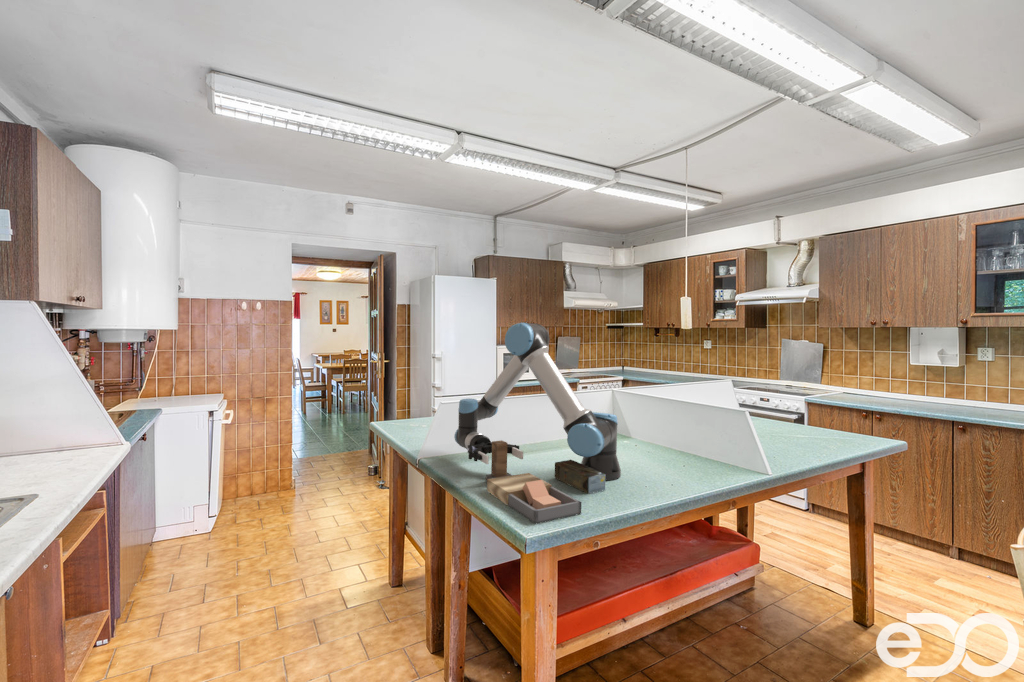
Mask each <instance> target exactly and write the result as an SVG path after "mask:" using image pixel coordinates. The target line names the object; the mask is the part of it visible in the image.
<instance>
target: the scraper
mask: <svg viewBox="0 0 1024 682" xmlns="http://www.w3.org/2000/svg"><path fill="white" fill-rule="evenodd" d="M491 442H492V453H491V464H490V465H491V469H490V472H491V473H488V474H485V482H486V481H487V479H492V478H499V477H505V476H512V475H513V474H511V473H509V472H508V453H507V444H508V442H507V441H504V440H502V439H501V440H496V441H495V440H494V441H491Z"/></svg>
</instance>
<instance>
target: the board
mask: <svg viewBox="0 0 1024 682" xmlns="http://www.w3.org/2000/svg"><path fill="white" fill-rule="evenodd" d="M511 475H512V476H505V477H499V478H492V479H487V482H486V483H487V484H486V487H487V488H486V491H488V492H487V493H489V492H490V493H491V495H492V496H493V495H494V497H495V498H496V497H497V499H498V500H499V501H501V502H502V503H504V505H506V506H508V502H509V494H513V495H514V496H516V497H517V498H519V499H520V500H522V501H528V500H527V498H526V495H525V493H524V491H523V486H524V485H525V483H526V482H532V481H538V480H542V479H541V478H540V477H537V476H536V475H534V474H531V473H530V472H526V473H519V474H511ZM543 483H544V485H545V487H546V489H547V491H548V494H550V487H553V486H552V484H551V483H549V482H547V481H545V480H543ZM490 493H489V494H490Z"/></svg>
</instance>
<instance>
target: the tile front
mask: <svg viewBox="0 0 1024 682" xmlns="http://www.w3.org/2000/svg"><path fill="white" fill-rule="evenodd" d="M557 505H561V501H559V500H557V499H556V498H554V497H552V496H550V495H547V496H542V497H536V498H533V508H535V509H536V510H537V509H542V508H547V507H552V506H557Z"/></svg>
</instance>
